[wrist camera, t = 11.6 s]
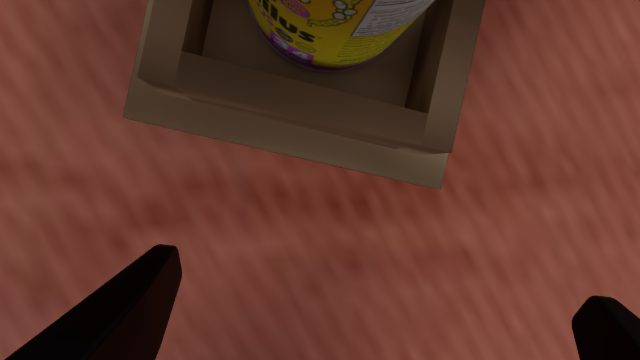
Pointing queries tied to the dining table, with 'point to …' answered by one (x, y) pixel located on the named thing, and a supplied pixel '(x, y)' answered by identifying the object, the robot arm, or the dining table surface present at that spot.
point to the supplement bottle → (333, 29)
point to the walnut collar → (307, 89)
